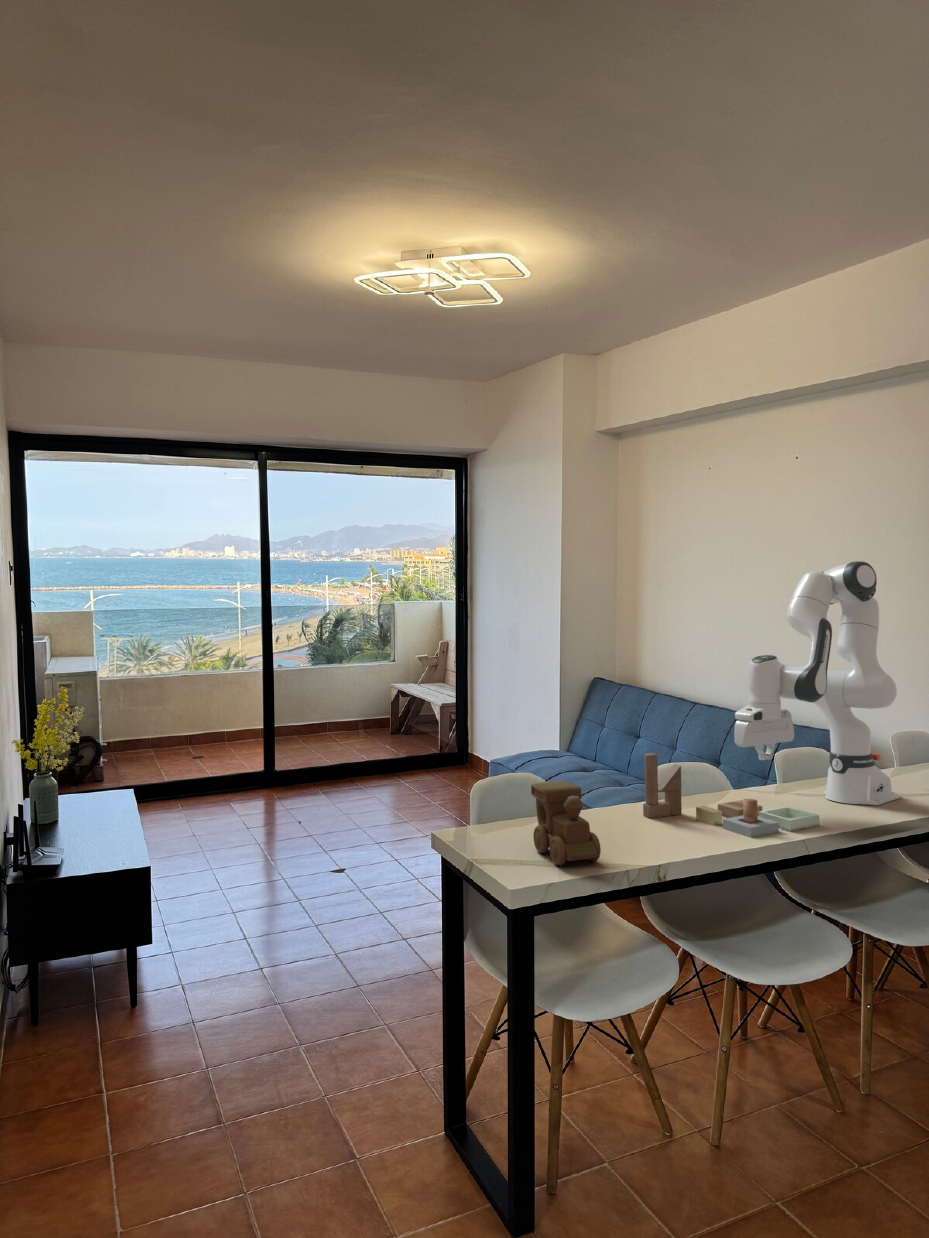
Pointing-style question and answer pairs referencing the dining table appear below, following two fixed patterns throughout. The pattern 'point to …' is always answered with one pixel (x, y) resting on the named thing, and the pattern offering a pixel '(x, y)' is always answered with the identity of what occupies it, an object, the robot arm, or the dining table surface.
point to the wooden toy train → (562, 823)
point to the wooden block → (661, 789)
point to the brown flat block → (734, 809)
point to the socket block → (751, 826)
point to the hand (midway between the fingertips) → (765, 759)
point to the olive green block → (709, 815)
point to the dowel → (750, 811)
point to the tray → (791, 818)
